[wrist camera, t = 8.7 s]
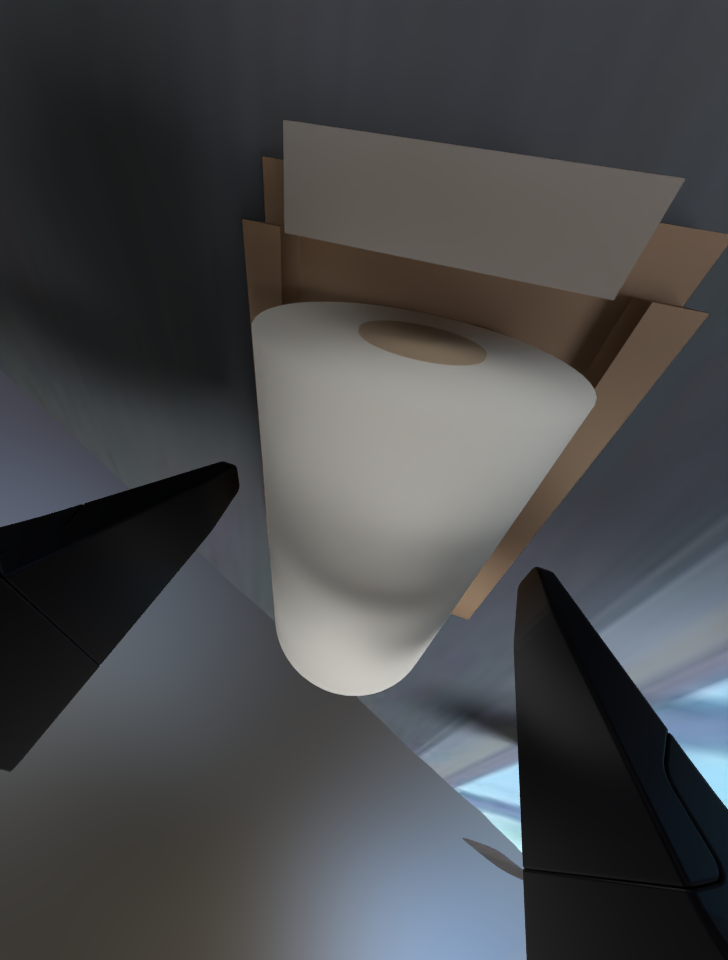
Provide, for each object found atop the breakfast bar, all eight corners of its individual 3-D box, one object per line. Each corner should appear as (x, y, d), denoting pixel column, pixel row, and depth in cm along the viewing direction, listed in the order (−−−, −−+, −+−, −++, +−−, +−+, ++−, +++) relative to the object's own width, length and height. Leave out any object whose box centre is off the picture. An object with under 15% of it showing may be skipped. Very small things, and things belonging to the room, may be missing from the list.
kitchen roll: (334, 289, 8) (151, 332, 4) (558, 341, 7) (677, 480, 3) (316, 529, 15) (241, 653, 10) (436, 572, 14) (412, 729, 9)
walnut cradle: (283, 165, 8) (129, 96, 4) (704, 237, 6) (957, 218, 3) (288, 532, 17) (240, 602, 14) (461, 595, 16) (455, 689, 12)
